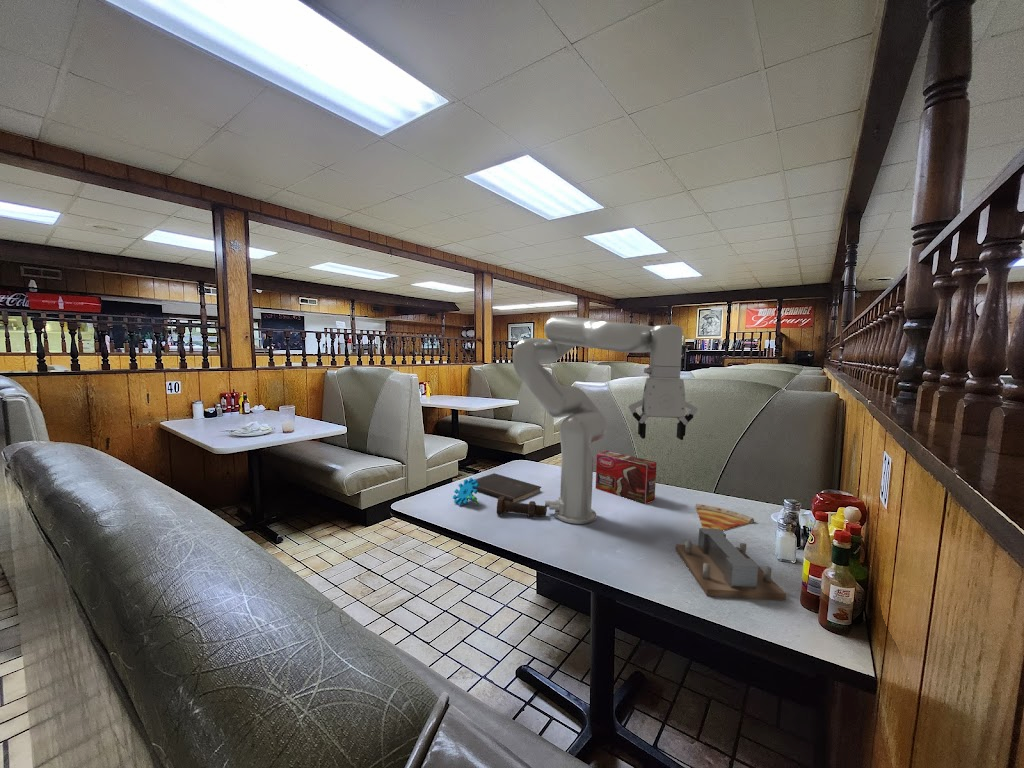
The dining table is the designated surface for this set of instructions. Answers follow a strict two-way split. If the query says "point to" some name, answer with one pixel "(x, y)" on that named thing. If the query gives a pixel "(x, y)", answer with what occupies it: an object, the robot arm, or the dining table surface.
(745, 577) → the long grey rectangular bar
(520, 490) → the hardcover book
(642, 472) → the ice cream box
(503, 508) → the bolt
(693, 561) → the peg rack
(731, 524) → the pizza slice
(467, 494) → the gear
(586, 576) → the dining table surface
